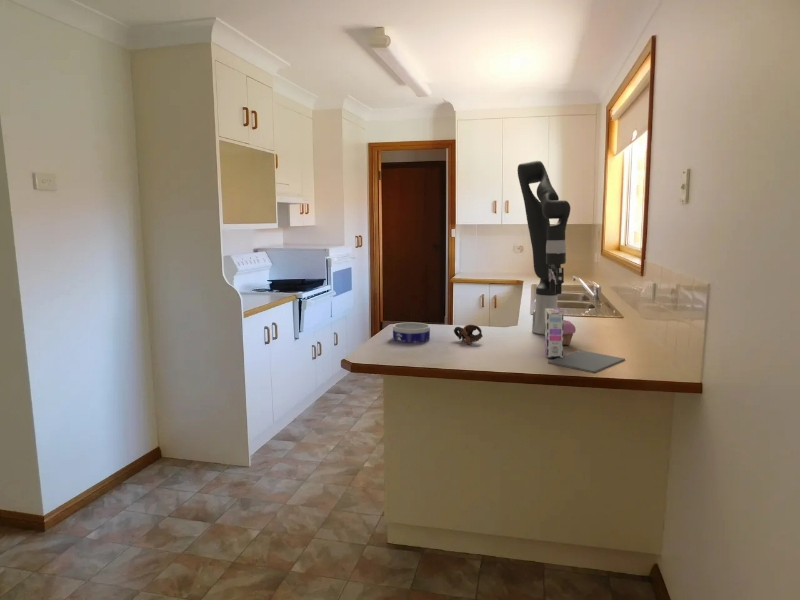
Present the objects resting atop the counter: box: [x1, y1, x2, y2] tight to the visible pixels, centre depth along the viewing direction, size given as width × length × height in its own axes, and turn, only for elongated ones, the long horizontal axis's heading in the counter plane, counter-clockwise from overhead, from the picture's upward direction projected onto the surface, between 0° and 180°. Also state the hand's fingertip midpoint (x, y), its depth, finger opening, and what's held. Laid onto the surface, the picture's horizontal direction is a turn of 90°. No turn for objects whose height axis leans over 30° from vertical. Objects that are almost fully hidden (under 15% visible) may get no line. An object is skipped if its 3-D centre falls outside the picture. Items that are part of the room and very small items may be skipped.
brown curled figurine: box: [453, 324, 483, 346], centre depth 223 cm, size 12×10×8 cm
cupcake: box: [563, 319, 577, 346], centre depth 220 cm, size 9×9×10 cm
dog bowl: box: [392, 321, 431, 344], centre depth 227 cm, size 15×15×6 cm
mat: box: [547, 349, 626, 374], centre depth 195 cm, size 17×24×1 cm
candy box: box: [544, 307, 564, 359], centre depth 203 cm, size 14×6×16 cm, turn 168°
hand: (555, 292), depth 219 cm, fingers open, 8 cm apart
